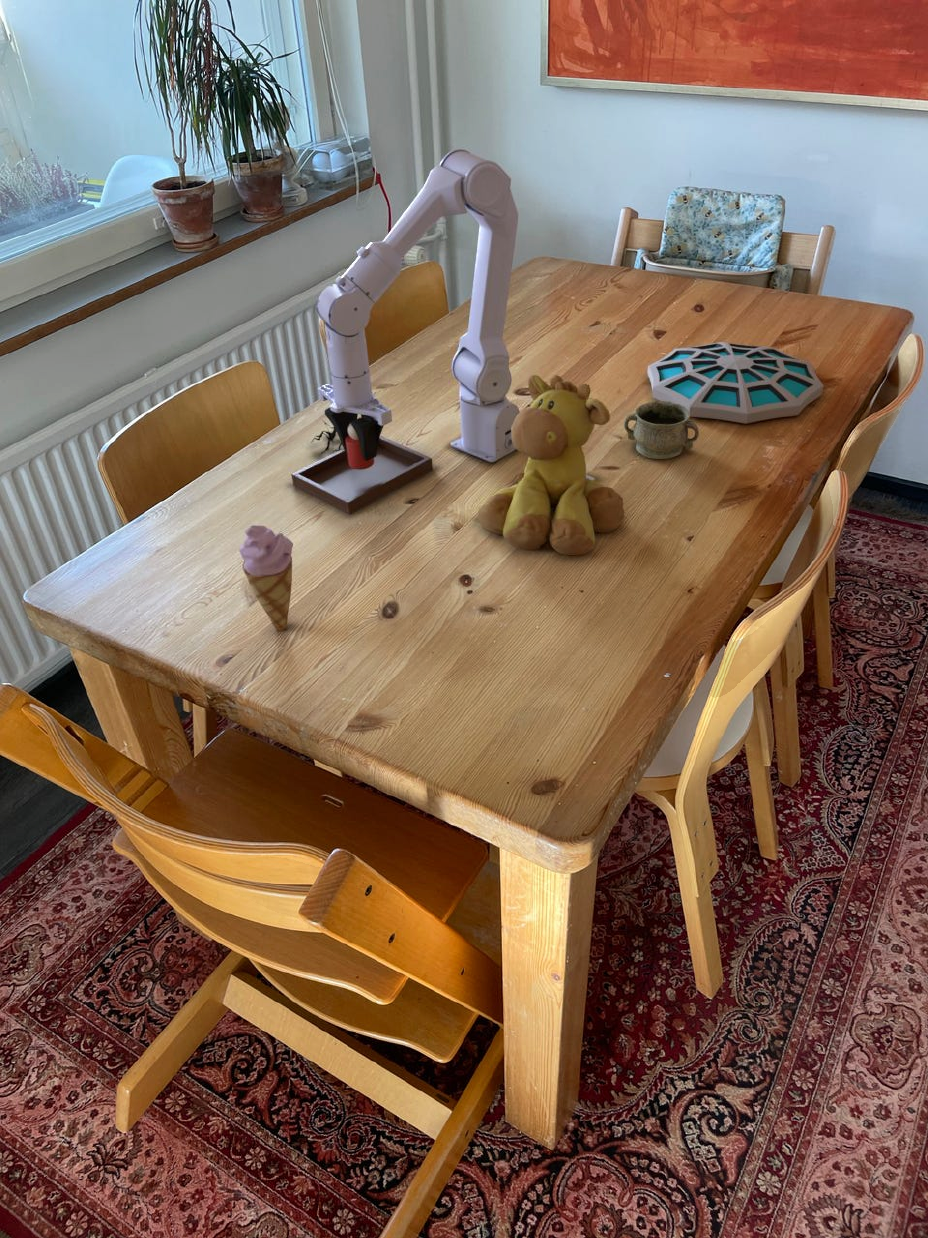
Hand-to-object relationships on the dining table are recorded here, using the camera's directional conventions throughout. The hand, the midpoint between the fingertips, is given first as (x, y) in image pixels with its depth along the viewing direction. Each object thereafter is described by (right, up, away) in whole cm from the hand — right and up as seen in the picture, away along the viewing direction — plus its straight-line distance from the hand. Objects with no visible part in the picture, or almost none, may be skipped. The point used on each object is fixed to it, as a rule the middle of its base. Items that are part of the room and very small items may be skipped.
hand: (360, 453), depth 146 cm
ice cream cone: (-7, -27, -26) cm, 38 cm away
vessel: (+48, +2, +6) cm, 48 cm away
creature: (-6, +3, +12) cm, 13 cm away
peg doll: (0, -1, +1) cm, 2 cm away
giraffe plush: (+29, -11, -9) cm, 32 cm away
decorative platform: (+64, +16, +22) cm, 70 cm away
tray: (0, -3, +3) cm, 4 cm away
